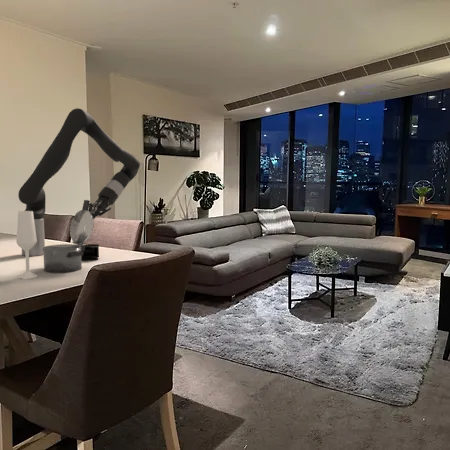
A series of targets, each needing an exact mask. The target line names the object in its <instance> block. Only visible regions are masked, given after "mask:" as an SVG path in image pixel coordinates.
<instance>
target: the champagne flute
mask: <svg viewBox="0 0 450 450" xmlns="http://www.w3.org/2000/svg"><path fill="white" fill-rule="evenodd" d="M16 227H17V229H16V239H15V240H16V241H15V242H16V244H17V245H18V247H19V248H21V250H22V249H23V250H25V255H24V256H25V271H24V272H23V273H22V274H20V275H19V276H17V278H18V279H20V278H22V279H23V280H26V279H34V278H37V277H39V276H38V274H37V273H36V274H35V273H34V272H32V271H30V256H29V250H30V249H32V248H33V247H34V246H35V244H36V242H37V238H36V231H35V224H34V216H33V211H25V210H22V211H21V210H19V211H18V212H17V226H16Z"/></svg>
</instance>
